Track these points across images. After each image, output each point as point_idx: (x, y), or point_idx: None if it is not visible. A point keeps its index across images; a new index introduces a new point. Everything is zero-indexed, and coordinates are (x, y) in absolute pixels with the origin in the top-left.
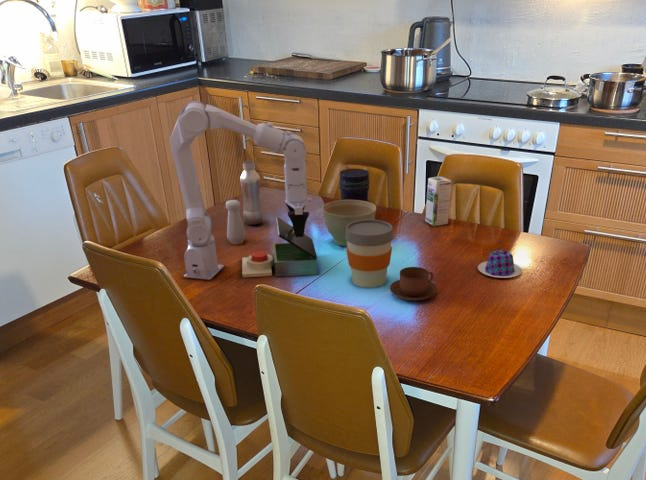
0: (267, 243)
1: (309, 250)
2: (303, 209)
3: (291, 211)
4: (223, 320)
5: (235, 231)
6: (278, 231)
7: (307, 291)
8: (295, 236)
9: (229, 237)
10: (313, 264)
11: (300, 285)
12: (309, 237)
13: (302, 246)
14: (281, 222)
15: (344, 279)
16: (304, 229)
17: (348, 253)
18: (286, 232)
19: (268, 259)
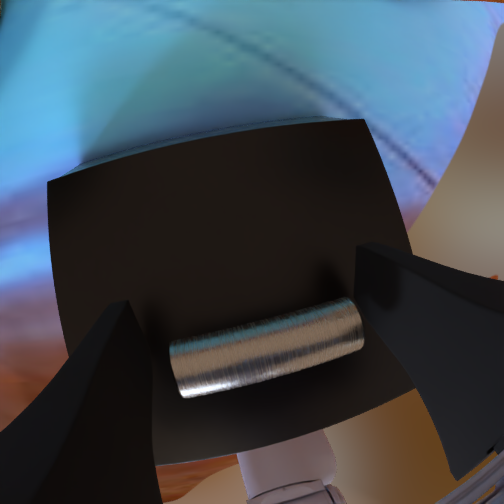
0: (26, 354)
1: (343, 167)
2: (69, 435)
3: (474, 466)
4: None
5: None
6: (384, 401)
7: (437, 158)
8: (260, 298)
9: None
10: None
11: (400, 181)
12: (51, 202)
13: (367, 219)
14: (162, 436)
15: (367, 17)
16: (423, 258)
17: (501, 2)
18: (319, 368)
19: None
